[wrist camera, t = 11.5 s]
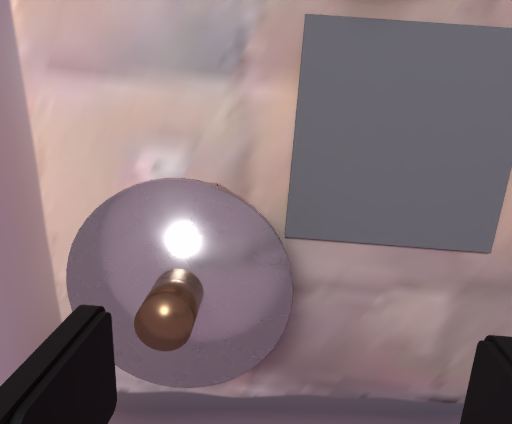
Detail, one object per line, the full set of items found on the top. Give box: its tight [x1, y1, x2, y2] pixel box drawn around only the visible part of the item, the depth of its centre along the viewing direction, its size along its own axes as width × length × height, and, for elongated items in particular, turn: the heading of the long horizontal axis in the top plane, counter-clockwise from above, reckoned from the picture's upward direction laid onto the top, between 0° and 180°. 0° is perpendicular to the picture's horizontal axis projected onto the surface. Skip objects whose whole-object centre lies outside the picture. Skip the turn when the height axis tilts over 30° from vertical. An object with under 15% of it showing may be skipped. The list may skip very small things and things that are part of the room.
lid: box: [66, 178, 293, 388], centre depth 28 cm, size 16×16×5 cm
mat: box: [285, 14, 512, 253], centre depth 33 cm, size 17×17×1 cm
